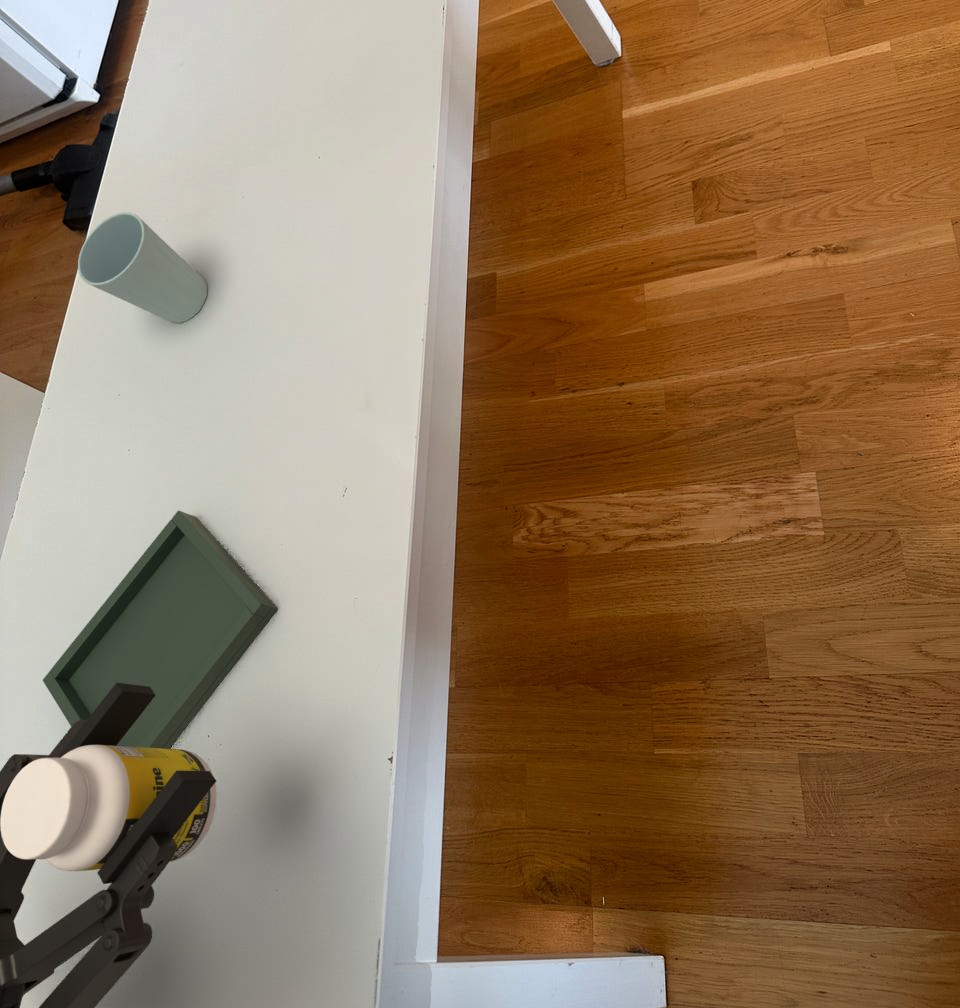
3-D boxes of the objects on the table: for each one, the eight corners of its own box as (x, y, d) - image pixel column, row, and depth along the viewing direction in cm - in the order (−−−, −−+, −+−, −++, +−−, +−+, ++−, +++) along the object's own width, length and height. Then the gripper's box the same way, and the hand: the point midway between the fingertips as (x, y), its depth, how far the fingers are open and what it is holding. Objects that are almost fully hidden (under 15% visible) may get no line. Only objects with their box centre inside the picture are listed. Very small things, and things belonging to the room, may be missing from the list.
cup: (143, 309, 91) (65, 260, 82) (192, 254, 91) (119, 199, 83) (177, 346, 87) (99, 298, 78) (229, 288, 87) (156, 234, 79)
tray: (134, 793, 69) (112, 794, 67) (63, 682, 76) (41, 680, 74) (278, 608, 70) (261, 603, 68) (195, 516, 77) (178, 509, 75)
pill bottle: (204, 872, 51) (55, 892, 42) (127, 848, 54) (-30, 862, 45) (232, 758, 54) (96, 754, 44) (157, 740, 56) (13, 733, 47)
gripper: (-100, 924, 56) (133, 630, 58) (20, 1231, 45) (301, 859, 47) (-225, 943, 50) (41, 612, 51) (-120, 1304, 39) (210, 871, 41)
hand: (165, 731), depth 49 cm, fingers closed on pill bottle, 6 cm apart
